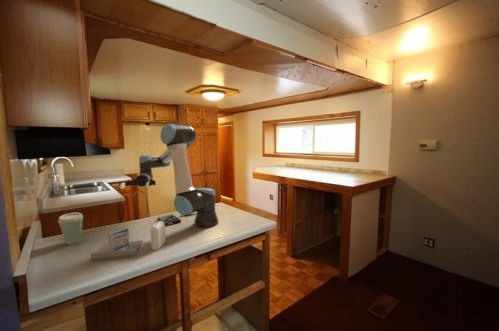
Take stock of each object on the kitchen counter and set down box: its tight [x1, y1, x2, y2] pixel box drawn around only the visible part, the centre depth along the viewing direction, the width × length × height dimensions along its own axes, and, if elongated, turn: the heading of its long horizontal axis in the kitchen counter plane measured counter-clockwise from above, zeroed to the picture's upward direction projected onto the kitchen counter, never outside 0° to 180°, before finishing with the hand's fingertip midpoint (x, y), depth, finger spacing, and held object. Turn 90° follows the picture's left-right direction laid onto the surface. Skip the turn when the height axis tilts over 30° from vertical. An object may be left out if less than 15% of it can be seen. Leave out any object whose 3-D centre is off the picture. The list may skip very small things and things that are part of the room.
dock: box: [90, 240, 143, 262], centre depth 111 cm, size 18×15×3 cm
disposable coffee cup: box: [57, 212, 84, 246], centre depth 120 cm, size 11×11×15 cm
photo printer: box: [150, 221, 166, 251], centre depth 116 cm, size 10×4×12 cm, turn 179°
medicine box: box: [107, 227, 130, 251], centre depth 111 cm, size 8×4×9 cm, turn 149°
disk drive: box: [156, 214, 182, 227], centre depth 151 cm, size 10×3×15 cm
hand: (133, 186), depth 128 cm, fingers open, 13 cm apart
